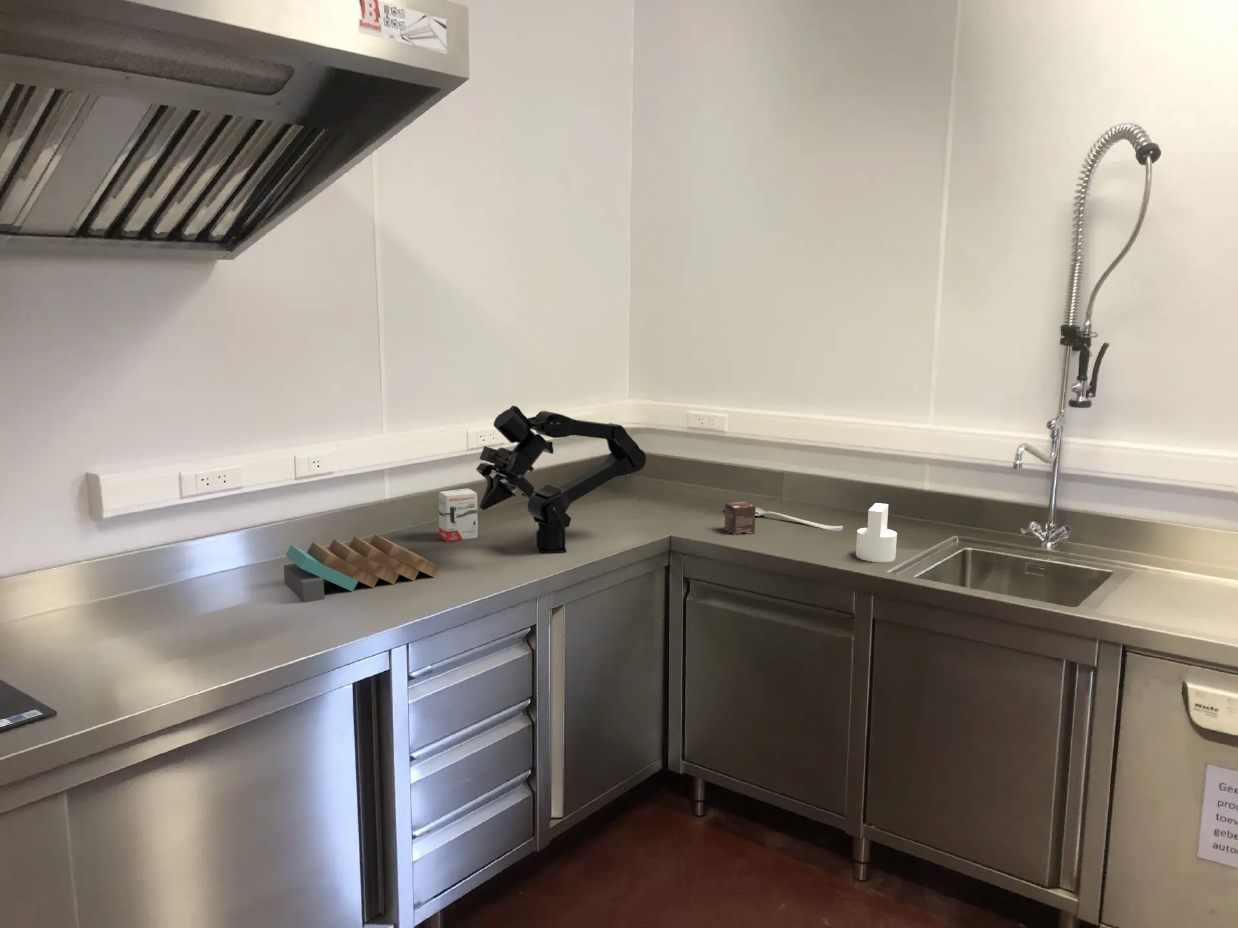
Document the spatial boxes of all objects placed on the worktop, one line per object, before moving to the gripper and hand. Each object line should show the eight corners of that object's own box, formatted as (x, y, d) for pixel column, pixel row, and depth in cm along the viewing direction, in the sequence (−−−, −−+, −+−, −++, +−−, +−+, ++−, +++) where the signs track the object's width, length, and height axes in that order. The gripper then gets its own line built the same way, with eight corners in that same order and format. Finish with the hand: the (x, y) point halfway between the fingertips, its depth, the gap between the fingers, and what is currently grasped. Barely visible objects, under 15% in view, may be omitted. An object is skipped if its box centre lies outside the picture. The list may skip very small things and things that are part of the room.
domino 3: (381, 561, 199) (333, 538, 192) (399, 574, 190) (350, 550, 183) (375, 571, 198) (328, 548, 191) (393, 584, 189) (344, 561, 182)
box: (745, 528, 240) (746, 501, 238) (755, 533, 234) (756, 506, 233) (724, 529, 238) (724, 502, 236) (733, 535, 232) (734, 507, 231)
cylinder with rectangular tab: (860, 549, 220) (862, 501, 217) (898, 554, 216) (901, 505, 214) (852, 559, 212) (855, 508, 210) (891, 564, 208) (895, 513, 206)
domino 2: (361, 564, 196) (312, 541, 189) (379, 577, 187) (329, 553, 180) (355, 574, 196) (306, 551, 189) (373, 587, 187) (322, 564, 180)
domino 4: (400, 558, 201) (354, 536, 194) (419, 570, 192) (372, 547, 185) (394, 568, 201) (348, 545, 194) (413, 580, 192) (366, 558, 185)
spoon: (720, 514, 256) (720, 505, 255) (734, 508, 262) (734, 499, 261) (835, 539, 235) (836, 530, 235) (848, 533, 241) (849, 523, 241)
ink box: (446, 542, 222) (445, 495, 220) (438, 537, 227) (437, 491, 224) (478, 537, 227) (477, 491, 225) (470, 533, 231) (469, 488, 229)
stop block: (304, 580, 191) (303, 562, 190) (324, 598, 180) (323, 579, 179) (284, 583, 189) (283, 565, 188) (303, 602, 177) (302, 582, 177)
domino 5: (420, 555, 204) (375, 533, 197) (439, 567, 195) (393, 545, 188) (414, 565, 203) (369, 543, 196) (434, 577, 194) (387, 555, 187)
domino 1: (341, 567, 194) (291, 544, 187) (358, 580, 185) (306, 557, 178) (335, 577, 193) (285, 554, 186) (352, 591, 184) (300, 568, 178)
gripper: (482, 428, 212) (440, 479, 208) (521, 438, 197) (475, 494, 193) (513, 458, 218) (472, 508, 214) (552, 470, 203) (509, 525, 198)
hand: (481, 508), depth 204 cm, fingers closed
